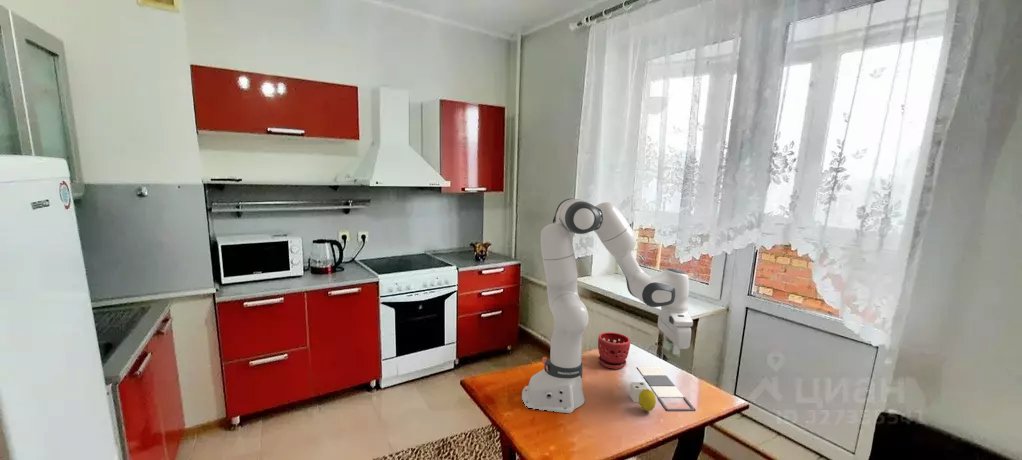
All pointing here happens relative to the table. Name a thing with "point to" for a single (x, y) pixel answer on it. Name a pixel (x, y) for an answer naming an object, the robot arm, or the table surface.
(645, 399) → the lemon
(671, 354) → the pawn
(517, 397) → the table surface
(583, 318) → the robot arm
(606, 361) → the plant pot
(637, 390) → the die
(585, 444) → the table surface
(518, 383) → the table surface
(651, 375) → the board
